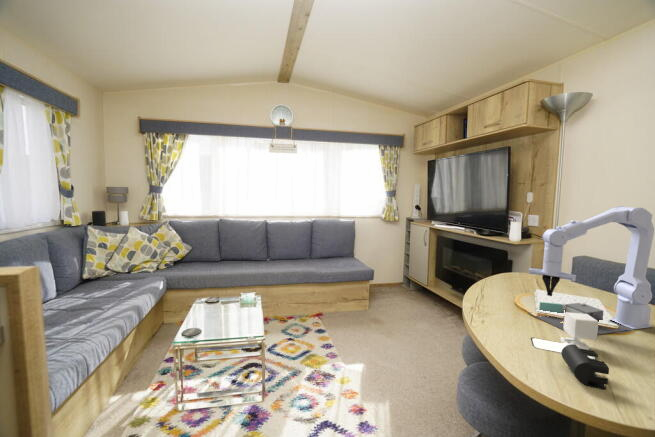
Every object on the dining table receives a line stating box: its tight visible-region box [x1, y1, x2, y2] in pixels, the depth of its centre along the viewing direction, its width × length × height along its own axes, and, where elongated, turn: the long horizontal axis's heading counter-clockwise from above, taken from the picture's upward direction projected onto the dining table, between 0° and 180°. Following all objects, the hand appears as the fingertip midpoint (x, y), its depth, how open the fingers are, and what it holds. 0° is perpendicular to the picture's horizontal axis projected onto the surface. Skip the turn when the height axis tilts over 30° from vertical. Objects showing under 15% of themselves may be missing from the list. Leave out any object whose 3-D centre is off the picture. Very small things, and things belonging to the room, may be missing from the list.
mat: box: [527, 312, 632, 336], centre depth 116 cm, size 24×20×1 cm
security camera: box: [560, 312, 598, 350], centre depth 98 cm, size 6×7×10 cm
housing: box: [564, 302, 604, 322], centre depth 116 cm, size 8×9×6 cm
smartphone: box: [530, 337, 598, 360], centre depth 97 cm, size 8×1×16 cm
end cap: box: [560, 344, 610, 391], centre depth 82 cm, size 10×7×7 cm
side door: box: [538, 301, 565, 313], centre depth 121 cm, size 2×8×5 cm, turn 74°
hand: (549, 295), depth 118 cm, fingers closed
